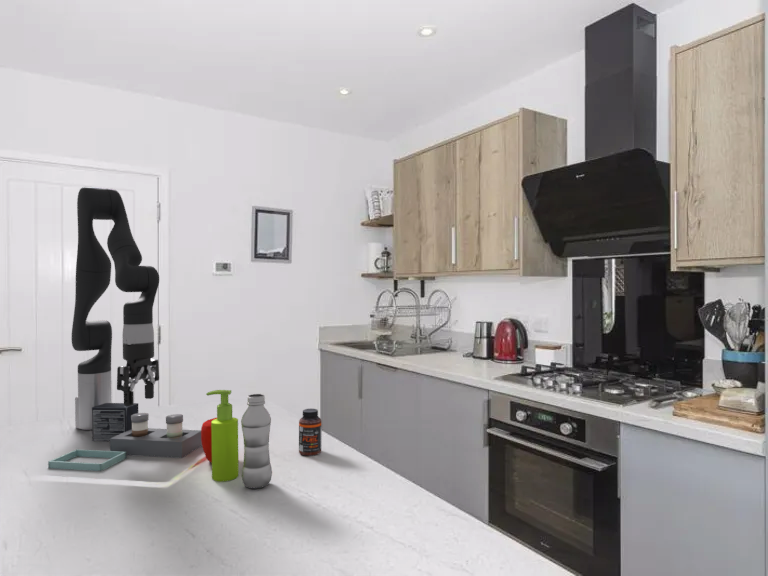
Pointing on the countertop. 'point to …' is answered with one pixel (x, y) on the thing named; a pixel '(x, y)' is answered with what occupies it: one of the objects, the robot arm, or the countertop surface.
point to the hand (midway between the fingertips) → (139, 402)
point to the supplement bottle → (310, 433)
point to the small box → (111, 420)
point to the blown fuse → (139, 424)
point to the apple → (207, 439)
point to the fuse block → (159, 440)
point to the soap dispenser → (224, 440)
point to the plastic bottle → (256, 443)
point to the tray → (61, 463)
